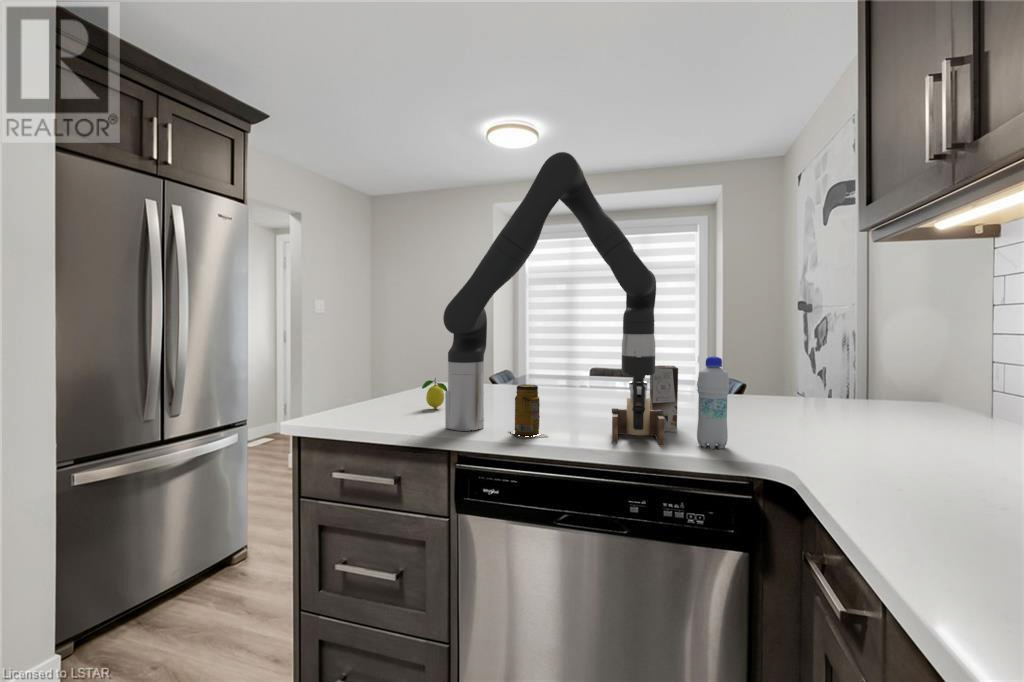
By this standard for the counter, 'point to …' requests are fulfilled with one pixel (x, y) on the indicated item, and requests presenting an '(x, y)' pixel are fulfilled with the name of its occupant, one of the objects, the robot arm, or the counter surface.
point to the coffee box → (665, 394)
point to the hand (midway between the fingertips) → (637, 426)
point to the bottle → (712, 404)
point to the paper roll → (645, 418)
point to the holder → (621, 424)
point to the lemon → (435, 393)
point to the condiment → (527, 412)
